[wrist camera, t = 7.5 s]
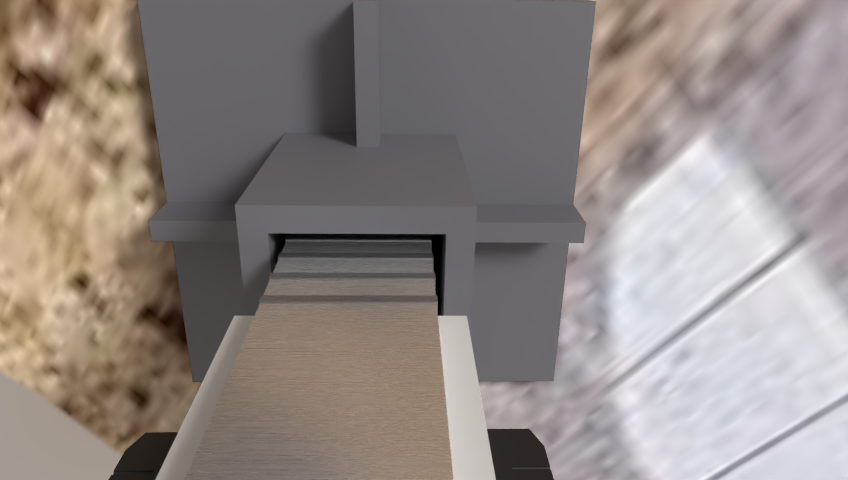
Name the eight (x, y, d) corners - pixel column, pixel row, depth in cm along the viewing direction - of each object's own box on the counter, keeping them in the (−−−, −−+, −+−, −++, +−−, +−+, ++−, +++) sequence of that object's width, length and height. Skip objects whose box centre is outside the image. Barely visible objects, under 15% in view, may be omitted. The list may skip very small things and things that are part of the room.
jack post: (321, 264, 26) (139, 925, 8) (316, 166, 25) (75, 716, 7) (423, 265, 26) (464, 915, 8) (425, 167, 25) (480, 709, 7)
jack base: (199, 369, 30) (119, 526, 21) (147, -7, 23) (5, 9, 15) (548, 368, 30) (603, 521, 22) (588, 0, 24) (686, 19, 16)
